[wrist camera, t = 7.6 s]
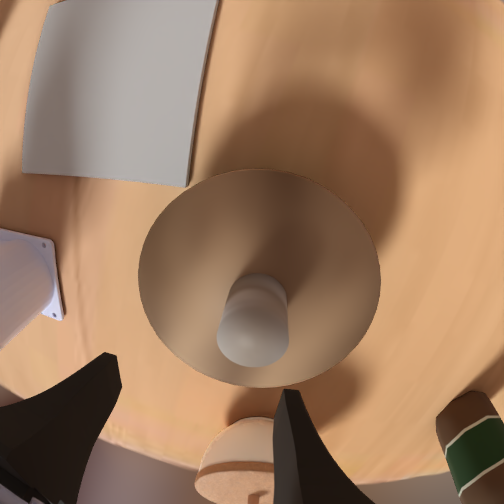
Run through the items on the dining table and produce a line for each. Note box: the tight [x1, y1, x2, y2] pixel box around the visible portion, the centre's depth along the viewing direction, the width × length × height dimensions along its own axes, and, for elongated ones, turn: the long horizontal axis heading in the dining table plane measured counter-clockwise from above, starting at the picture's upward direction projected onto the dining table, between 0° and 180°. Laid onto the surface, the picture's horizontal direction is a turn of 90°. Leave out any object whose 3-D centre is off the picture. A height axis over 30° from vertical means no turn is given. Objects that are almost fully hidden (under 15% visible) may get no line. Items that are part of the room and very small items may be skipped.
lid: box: [138, 169, 381, 388], centre depth 14 cm, size 13×13×4 cm
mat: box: [22, 0, 219, 188], centre depth 16 cm, size 15×15×1 cm
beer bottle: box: [436, 391, 504, 504], centre depth 14 cm, size 8×8×24 cm
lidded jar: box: [195, 417, 274, 504], centre depth 23 cm, size 11×11×9 cm
